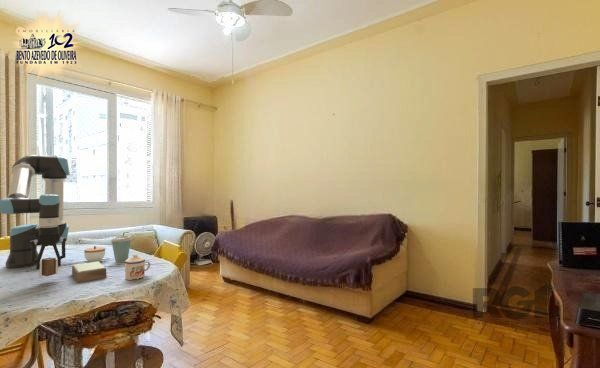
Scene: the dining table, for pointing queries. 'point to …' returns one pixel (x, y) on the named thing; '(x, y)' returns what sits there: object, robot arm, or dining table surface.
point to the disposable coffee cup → (121, 248)
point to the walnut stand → (88, 271)
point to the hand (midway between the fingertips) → (48, 274)
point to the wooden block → (48, 266)
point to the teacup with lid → (135, 267)
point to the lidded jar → (94, 254)
